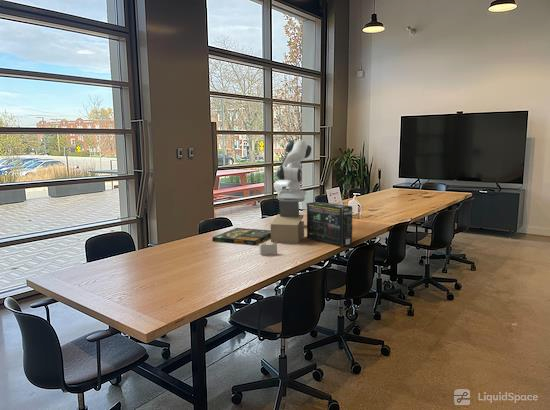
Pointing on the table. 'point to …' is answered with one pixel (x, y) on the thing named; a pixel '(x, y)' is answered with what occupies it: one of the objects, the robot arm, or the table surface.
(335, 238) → the router box
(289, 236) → the carton
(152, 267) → the table surface
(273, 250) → the model
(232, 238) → the pizza box
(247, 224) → the table surface
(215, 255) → the table surface
